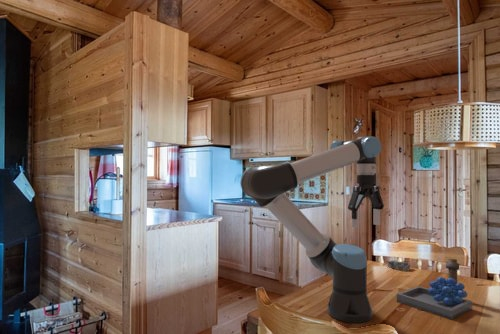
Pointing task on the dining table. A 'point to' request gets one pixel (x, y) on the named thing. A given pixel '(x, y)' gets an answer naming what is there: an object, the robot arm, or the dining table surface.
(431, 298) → the holder tray
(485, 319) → the dining table surface
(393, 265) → the egg carton
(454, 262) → the post
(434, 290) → the grapes
